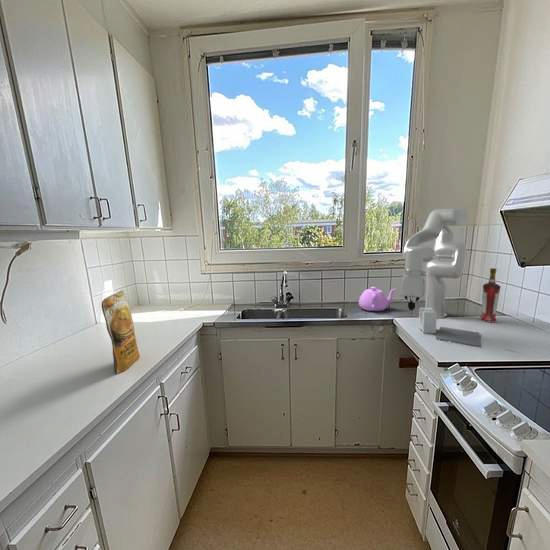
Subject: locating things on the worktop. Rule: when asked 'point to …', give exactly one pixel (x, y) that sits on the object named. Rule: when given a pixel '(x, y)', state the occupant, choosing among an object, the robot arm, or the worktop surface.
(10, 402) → the worktop surface
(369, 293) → the teapot
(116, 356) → the pancake mix bag
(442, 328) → the mat
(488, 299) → the liquor
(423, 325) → the small box
